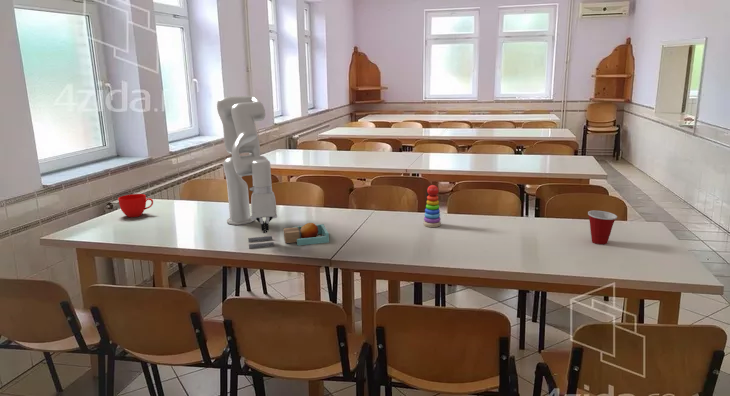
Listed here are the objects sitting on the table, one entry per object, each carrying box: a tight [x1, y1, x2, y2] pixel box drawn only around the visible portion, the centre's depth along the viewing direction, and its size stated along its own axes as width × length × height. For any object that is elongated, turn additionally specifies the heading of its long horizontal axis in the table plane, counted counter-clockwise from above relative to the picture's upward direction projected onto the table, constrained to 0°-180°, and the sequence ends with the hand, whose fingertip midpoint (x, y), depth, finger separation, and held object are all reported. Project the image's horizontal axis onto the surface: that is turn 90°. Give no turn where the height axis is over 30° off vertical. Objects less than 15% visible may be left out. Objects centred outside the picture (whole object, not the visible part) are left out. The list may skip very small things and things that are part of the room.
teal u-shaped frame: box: [292, 223, 330, 246], centre depth 230 cm, size 14×13×4 cm
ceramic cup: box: [118, 193, 154, 218], centre depth 275 cm, size 13×17×10 cm
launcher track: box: [248, 235, 275, 249], centre depth 225 cm, size 10×10×2 cm
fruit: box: [300, 222, 319, 238], centre depth 230 cm, size 8×8×8 cm
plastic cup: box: [587, 210, 618, 245], centre depth 214 cm, size 11×11×12 cm
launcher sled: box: [283, 226, 302, 244], centre depth 228 cm, size 7×7×4 cm
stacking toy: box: [423, 184, 442, 228], centre depth 243 cm, size 8×8×19 cm
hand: (265, 231), depth 226 cm, fingers closed
